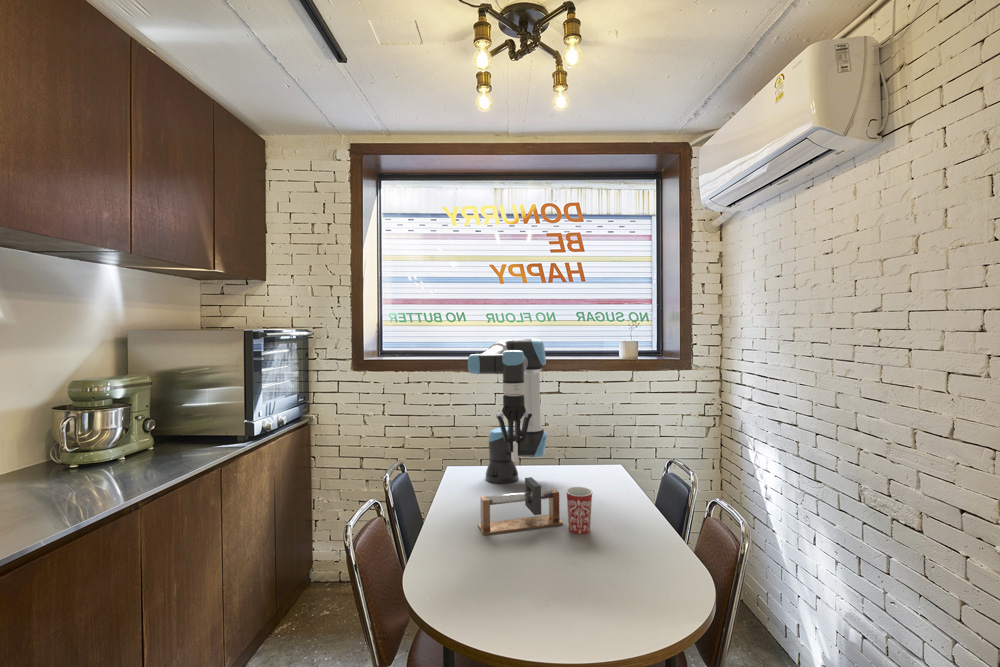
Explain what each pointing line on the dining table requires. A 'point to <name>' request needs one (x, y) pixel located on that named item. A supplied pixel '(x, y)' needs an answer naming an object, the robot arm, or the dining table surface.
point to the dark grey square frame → (533, 496)
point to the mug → (579, 509)
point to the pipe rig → (519, 523)
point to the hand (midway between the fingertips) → (514, 460)
